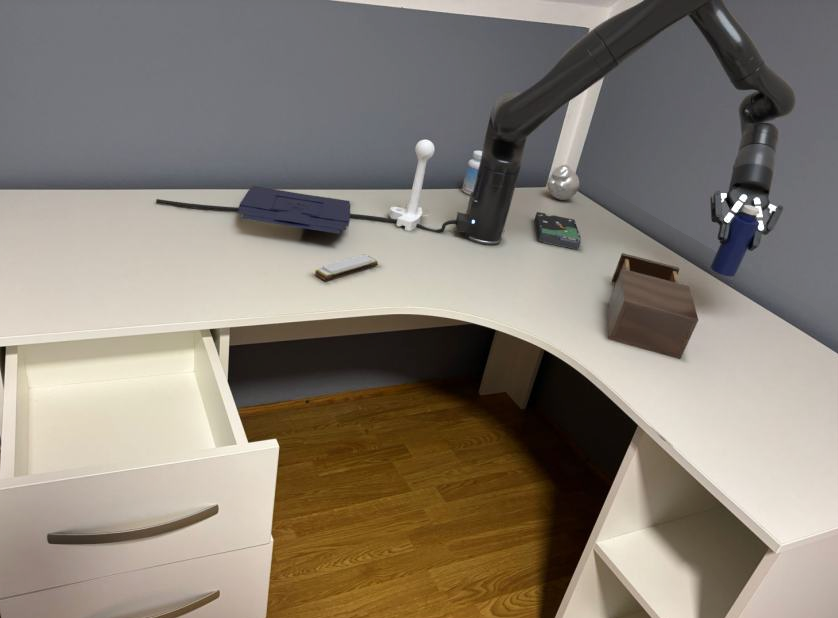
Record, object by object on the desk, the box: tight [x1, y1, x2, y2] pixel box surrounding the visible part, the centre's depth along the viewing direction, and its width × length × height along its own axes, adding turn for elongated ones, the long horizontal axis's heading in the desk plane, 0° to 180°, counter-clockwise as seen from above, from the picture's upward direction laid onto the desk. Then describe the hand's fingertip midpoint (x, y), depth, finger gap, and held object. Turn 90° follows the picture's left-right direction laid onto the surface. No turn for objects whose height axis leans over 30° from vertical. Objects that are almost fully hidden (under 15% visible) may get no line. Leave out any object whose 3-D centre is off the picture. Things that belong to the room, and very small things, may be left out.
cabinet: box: [607, 269, 699, 360], centre depth 138 cm, size 16×14×9 cm
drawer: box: [611, 252, 681, 287], centre depth 150 cm, size 18×12×7 cm
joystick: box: [388, 139, 436, 232], centre depth 164 cm, size 11×8×20 cm
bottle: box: [710, 205, 760, 277], centre depth 142 cm, size 5×5×14 cm
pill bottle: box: [461, 150, 482, 195], centre depth 193 cm, size 6×6×11 cm
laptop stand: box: [236, 185, 351, 235], centre depth 159 cm, size 24×30×4 cm
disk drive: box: [533, 211, 582, 250], centre depth 177 cm, size 10×3×15 cm
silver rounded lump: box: [546, 164, 580, 201], centre depth 201 cm, size 9×10×10 cm
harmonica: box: [314, 254, 379, 282], centre depth 140 cm, size 15×3×2 cm, turn 136°
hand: (737, 245), depth 141 cm, fingers closed on bottle, 5 cm apart
